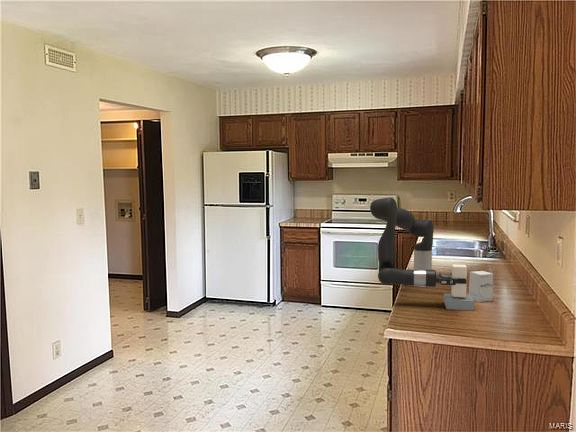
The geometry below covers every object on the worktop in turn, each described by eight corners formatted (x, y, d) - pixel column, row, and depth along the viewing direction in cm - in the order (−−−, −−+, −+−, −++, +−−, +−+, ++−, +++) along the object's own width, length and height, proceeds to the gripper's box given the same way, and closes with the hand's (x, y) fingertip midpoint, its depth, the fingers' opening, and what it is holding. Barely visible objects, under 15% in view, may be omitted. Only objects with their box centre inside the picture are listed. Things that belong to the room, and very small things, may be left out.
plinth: (444, 302, 216) (444, 293, 216) (470, 303, 214) (470, 294, 214) (446, 309, 206) (446, 299, 205) (473, 310, 203) (473, 301, 203)
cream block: (451, 293, 213) (451, 264, 212) (464, 294, 211) (465, 264, 210) (452, 296, 207) (453, 266, 206) (466, 297, 206) (466, 267, 205)
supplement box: (478, 302, 215) (479, 274, 214) (468, 298, 223) (468, 271, 221) (492, 301, 217) (493, 273, 216) (482, 297, 225) (482, 270, 223)
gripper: (425, 273, 205) (467, 274, 201) (423, 266, 219) (463, 267, 215) (425, 290, 205) (467, 292, 202) (423, 282, 219) (462, 284, 216)
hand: (465, 279), depth 208 cm, fingers closed on cream block, 5 cm apart
